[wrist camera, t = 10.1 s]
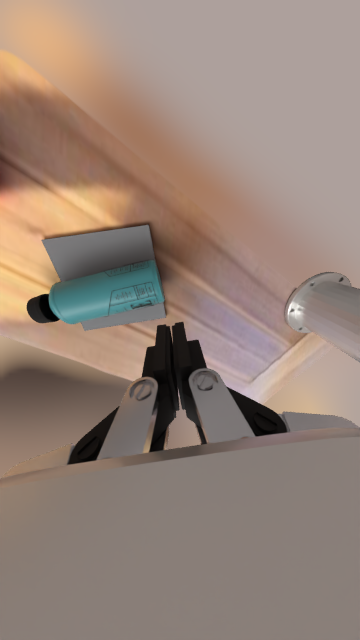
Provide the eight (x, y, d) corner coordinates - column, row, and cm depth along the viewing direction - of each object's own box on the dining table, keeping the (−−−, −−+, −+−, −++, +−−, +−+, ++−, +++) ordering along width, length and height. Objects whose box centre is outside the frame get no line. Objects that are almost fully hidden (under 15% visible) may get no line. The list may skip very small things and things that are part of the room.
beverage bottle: (161, 245, 22) (19, 278, 22) (170, 284, 20) (9, 322, 20) (169, 275, 28) (56, 301, 28) (176, 309, 26) (53, 337, 26)
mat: (148, 225, 24) (148, 224, 23) (165, 316, 31) (165, 317, 30) (44, 239, 23) (41, 240, 23) (86, 328, 30) (84, 330, 30)
